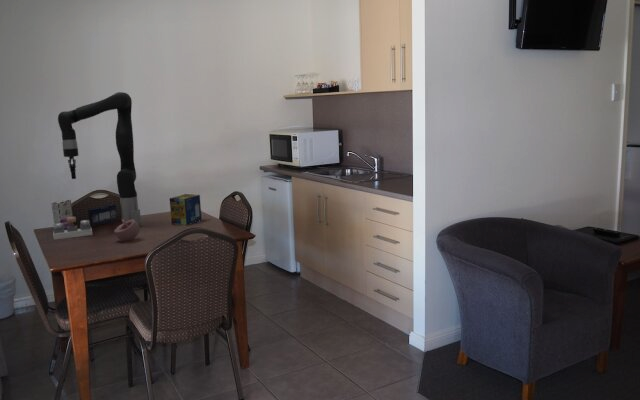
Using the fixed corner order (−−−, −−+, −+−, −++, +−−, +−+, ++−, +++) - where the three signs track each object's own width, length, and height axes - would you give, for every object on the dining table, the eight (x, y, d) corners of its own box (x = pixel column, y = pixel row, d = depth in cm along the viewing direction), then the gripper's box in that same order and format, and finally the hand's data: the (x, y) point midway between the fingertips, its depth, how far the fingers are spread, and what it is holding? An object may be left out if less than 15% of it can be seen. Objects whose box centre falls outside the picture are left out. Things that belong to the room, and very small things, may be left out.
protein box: (171, 225, 318) (168, 198, 315) (187, 219, 332) (185, 193, 329) (186, 225, 314) (184, 198, 311) (202, 220, 328) (200, 194, 325)
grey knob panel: (91, 232, 306) (90, 223, 305) (92, 234, 300) (91, 225, 299) (53, 237, 298) (52, 228, 298) (53, 239, 292) (52, 230, 291)
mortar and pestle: (112, 240, 283) (109, 218, 282) (135, 236, 291) (133, 215, 289) (119, 244, 274) (117, 222, 272) (143, 240, 281) (141, 218, 279)
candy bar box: (67, 227, 325) (63, 199, 322) (74, 227, 324) (71, 199, 321) (54, 231, 314) (50, 202, 311) (62, 231, 313) (58, 202, 310)
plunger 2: (89, 227, 304) (88, 219, 303) (90, 228, 300) (89, 220, 299) (81, 228, 302) (80, 220, 302) (81, 229, 298) (80, 221, 298)
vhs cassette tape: (92, 226, 323) (90, 209, 322) (89, 226, 325) (87, 209, 323) (118, 220, 338) (116, 204, 337) (115, 220, 340) (113, 204, 338)
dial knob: (76, 224, 301) (75, 215, 300) (76, 225, 297) (75, 217, 296) (67, 225, 299) (66, 216, 298) (67, 226, 295) (66, 218, 295)
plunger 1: (63, 230, 299) (62, 222, 298) (63, 232, 295) (62, 223, 294) (54, 231, 297) (53, 223, 296) (54, 233, 293) (53, 224, 292)
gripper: (78, 147, 304) (81, 179, 307) (77, 146, 316) (80, 177, 319) (63, 148, 301) (66, 180, 304) (62, 147, 313) (66, 178, 316)
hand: (73, 178), depth 312 cm, fingers closed
